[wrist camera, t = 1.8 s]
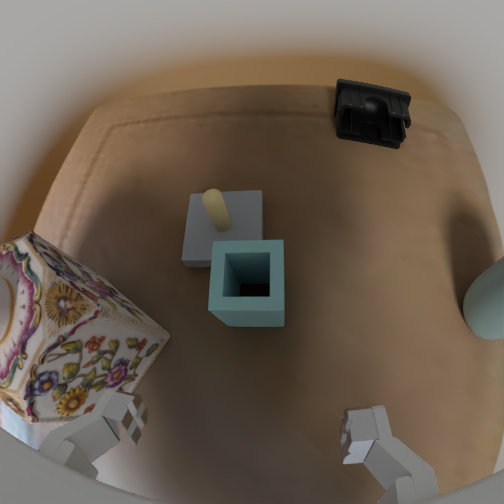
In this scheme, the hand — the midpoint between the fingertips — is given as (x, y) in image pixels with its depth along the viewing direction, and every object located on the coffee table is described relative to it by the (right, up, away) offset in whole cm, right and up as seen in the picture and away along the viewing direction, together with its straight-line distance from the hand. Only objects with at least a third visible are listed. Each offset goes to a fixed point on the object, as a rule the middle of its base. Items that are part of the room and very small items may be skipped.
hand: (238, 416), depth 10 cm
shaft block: (-2, +8, +22) cm, 24 cm away
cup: (+26, -1, +15) cm, 30 cm away
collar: (+1, +2, +19) cm, 19 cm away
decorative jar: (-15, -4, +19) cm, 24 cm away
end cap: (+17, +24, +27) cm, 40 cm away
